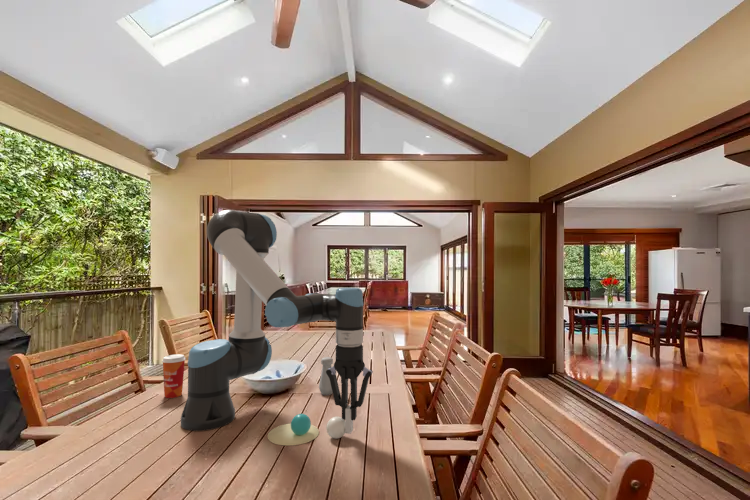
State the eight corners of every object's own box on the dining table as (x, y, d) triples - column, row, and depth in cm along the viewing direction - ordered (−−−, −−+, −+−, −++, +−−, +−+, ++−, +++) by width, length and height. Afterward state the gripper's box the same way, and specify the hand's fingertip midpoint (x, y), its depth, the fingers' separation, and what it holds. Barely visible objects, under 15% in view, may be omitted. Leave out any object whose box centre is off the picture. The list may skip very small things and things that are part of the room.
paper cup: (156, 397, 137) (156, 357, 138) (174, 390, 144) (175, 353, 145) (172, 400, 134) (172, 359, 135) (190, 393, 141) (190, 355, 142)
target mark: (258, 443, 102) (258, 442, 102) (280, 421, 116) (280, 421, 116) (308, 447, 100) (308, 446, 100) (325, 425, 113) (325, 424, 113)
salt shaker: (331, 396, 138) (332, 360, 138) (316, 395, 139) (316, 359, 140) (336, 391, 144) (336, 356, 144) (322, 390, 145) (322, 355, 145)
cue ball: (347, 436, 102) (330, 445, 103) (352, 427, 108) (335, 436, 108) (337, 417, 103) (320, 427, 103) (342, 409, 108) (326, 418, 109)
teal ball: (308, 437, 104) (289, 440, 105) (315, 428, 110) (297, 431, 110) (304, 416, 105) (285, 419, 105) (311, 409, 110) (293, 412, 111)
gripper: (322, 346, 103) (321, 435, 102) (370, 348, 101) (370, 439, 100) (330, 340, 111) (330, 424, 110) (375, 342, 108) (375, 427, 107)
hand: (349, 431), depth 105 cm, fingers closed
